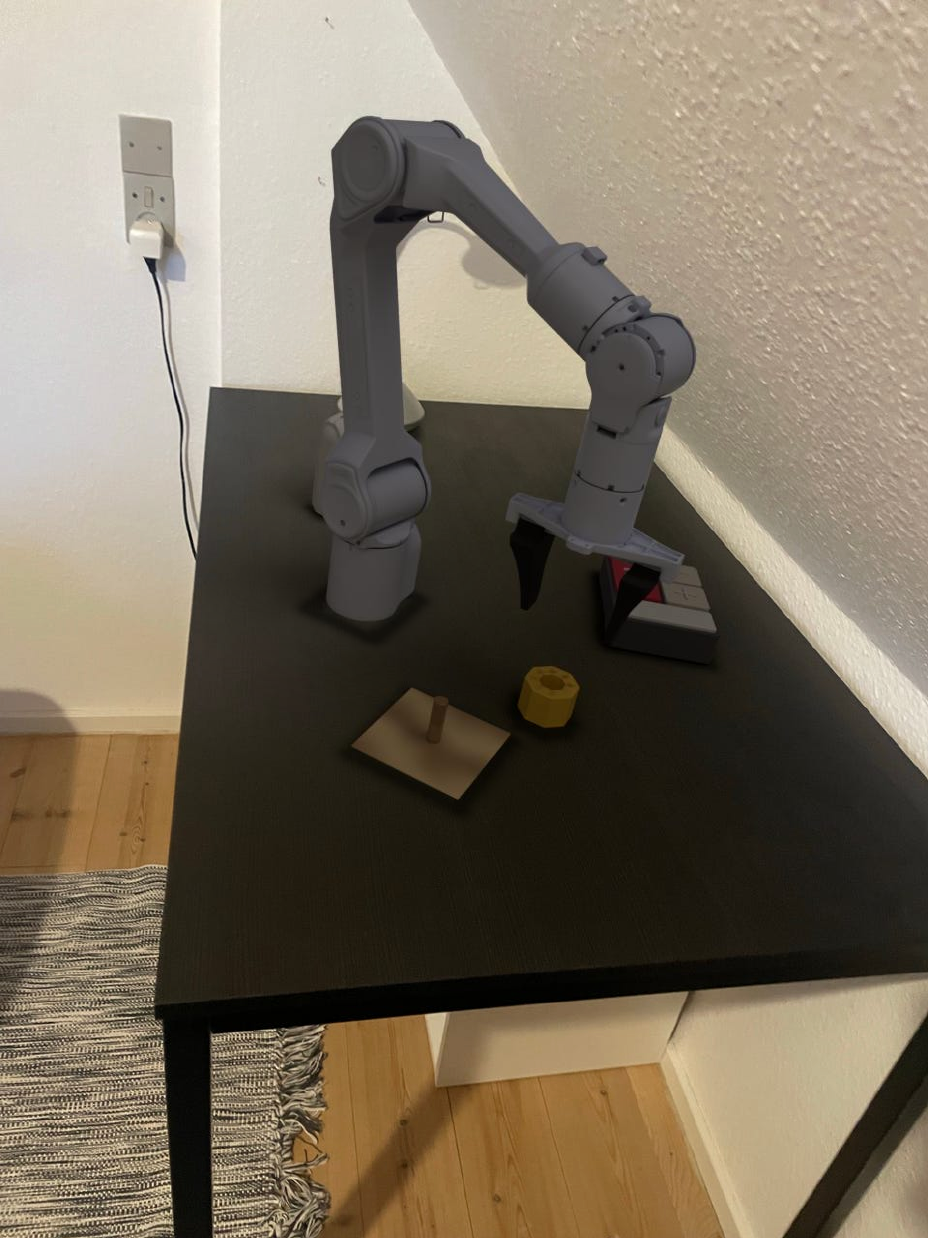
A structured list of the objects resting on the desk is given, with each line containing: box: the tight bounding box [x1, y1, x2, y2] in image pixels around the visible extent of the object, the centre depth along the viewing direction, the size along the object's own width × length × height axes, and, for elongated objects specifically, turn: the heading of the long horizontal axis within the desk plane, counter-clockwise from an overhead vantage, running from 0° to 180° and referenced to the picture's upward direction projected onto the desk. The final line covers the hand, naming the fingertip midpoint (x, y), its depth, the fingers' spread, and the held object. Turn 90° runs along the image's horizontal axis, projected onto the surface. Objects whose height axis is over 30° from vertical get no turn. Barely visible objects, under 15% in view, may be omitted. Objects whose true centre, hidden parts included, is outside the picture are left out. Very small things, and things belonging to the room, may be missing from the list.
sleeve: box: [517, 665, 580, 729], centre depth 84 cm, size 5×5×4 cm
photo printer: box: [311, 410, 344, 517], centre depth 110 cm, size 10×4×12 cm, turn 137°
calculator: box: [598, 555, 721, 665], centre depth 103 cm, size 11×4×15 cm
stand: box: [350, 687, 511, 800], centre depth 78 cm, size 10×10×5 cm
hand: (568, 621), depth 80 cm, fingers open, 7 cm apart
